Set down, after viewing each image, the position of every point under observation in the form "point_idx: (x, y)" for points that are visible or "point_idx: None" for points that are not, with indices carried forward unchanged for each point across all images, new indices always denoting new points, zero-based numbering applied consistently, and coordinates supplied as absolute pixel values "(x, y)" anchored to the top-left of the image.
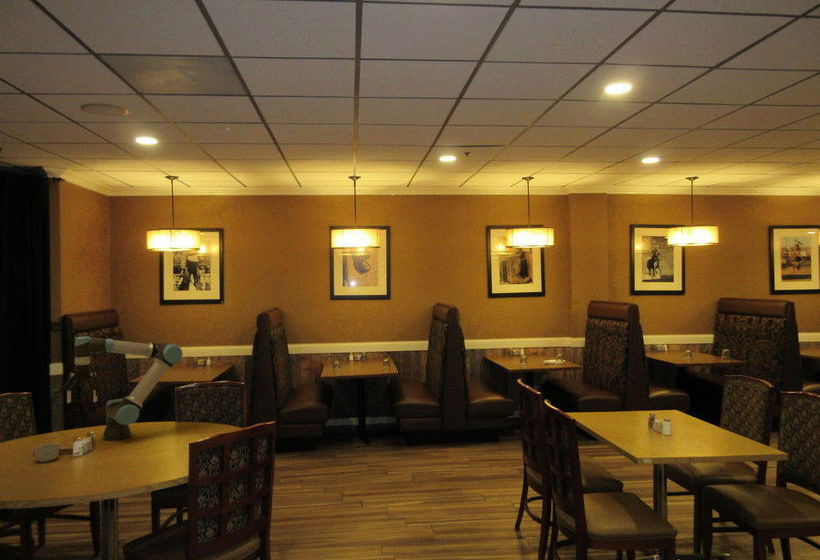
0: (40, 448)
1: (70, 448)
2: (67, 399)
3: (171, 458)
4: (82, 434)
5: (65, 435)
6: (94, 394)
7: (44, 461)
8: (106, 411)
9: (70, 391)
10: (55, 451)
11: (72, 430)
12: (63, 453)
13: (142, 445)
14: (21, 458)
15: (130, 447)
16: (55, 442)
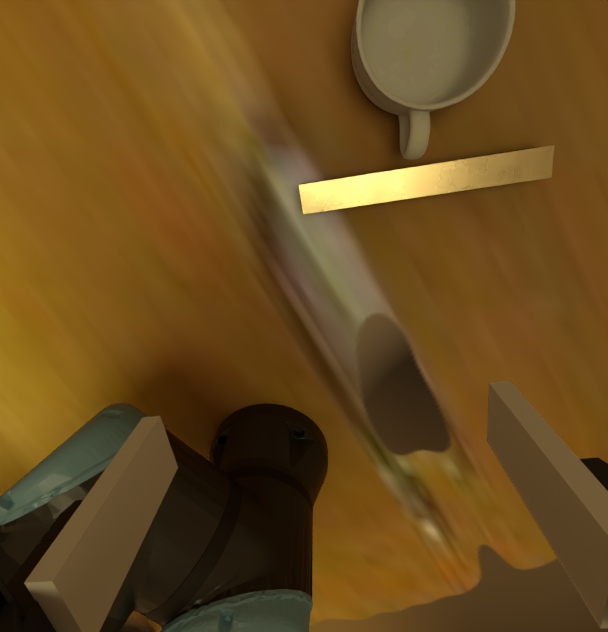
0: (485, 61)
1: (335, 179)
2: (534, 412)
3: None
4: (458, 503)
5: None
6: (89, 501)
7: (401, 2)
8: (298, 556)
9: (589, 586)
10: (354, 19)
11: (533, 558)
12: (371, 173)
13: (62, 322)
14: (585, 106)
15: (97, 292)
16: (417, 129)
